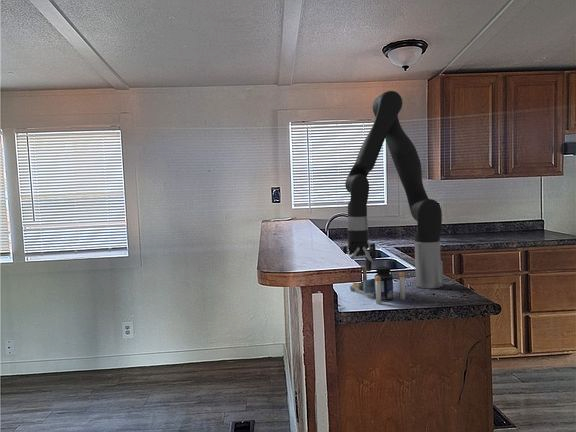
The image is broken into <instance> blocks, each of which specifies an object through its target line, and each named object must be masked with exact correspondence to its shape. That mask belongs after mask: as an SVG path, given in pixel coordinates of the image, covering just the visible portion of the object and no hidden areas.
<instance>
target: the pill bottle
mask: <svg viewBox="0 0 576 432" xmlns="http://www.w3.org/2000/svg"><path fill="white" fill-rule="evenodd" d="M375 270H376V274H375V275H374V278H375V277H376V276H380V277H381V280H380V283H381V302H390V301H393V300H394V298H395V297H394V296H395V295H394V278H393V275H392V274H391V267H390V266H377V267H376V269H375ZM375 296H376V281H375Z"/></svg>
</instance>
